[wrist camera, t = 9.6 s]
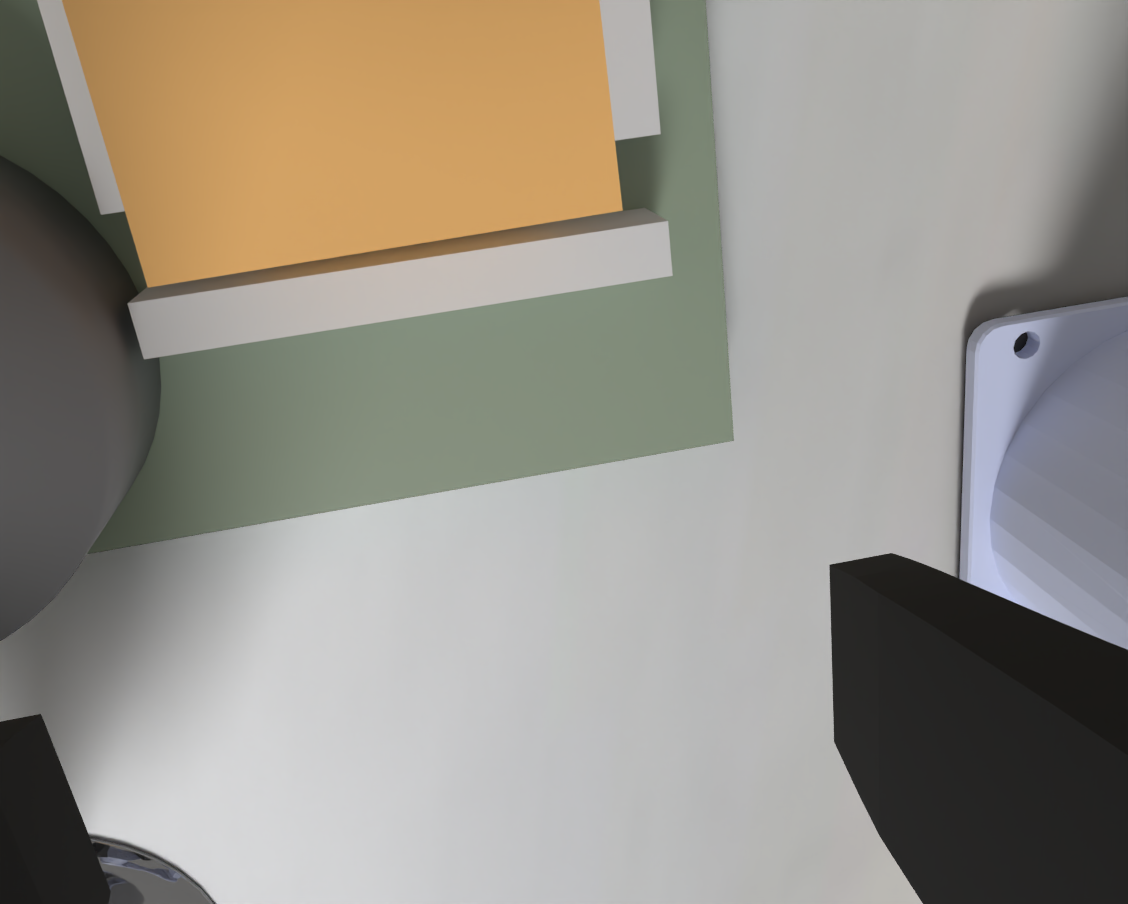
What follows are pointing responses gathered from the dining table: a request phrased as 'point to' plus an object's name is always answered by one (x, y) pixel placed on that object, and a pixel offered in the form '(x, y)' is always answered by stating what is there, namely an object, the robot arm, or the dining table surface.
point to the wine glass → (144, 877)
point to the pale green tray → (340, 331)
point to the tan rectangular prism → (343, 123)
